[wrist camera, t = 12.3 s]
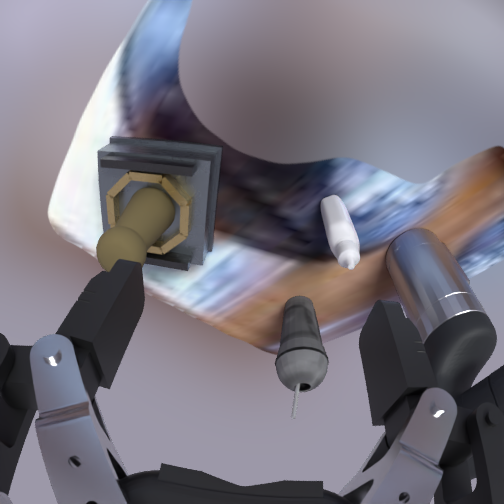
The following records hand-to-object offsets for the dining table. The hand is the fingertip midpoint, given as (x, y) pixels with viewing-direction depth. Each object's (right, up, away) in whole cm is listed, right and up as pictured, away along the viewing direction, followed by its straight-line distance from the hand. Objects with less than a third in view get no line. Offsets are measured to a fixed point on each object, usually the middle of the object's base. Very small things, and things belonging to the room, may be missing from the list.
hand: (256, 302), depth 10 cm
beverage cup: (+7, -7, +40) cm, 42 cm away
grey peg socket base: (-12, +10, +31) cm, 35 cm away
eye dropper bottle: (+11, +7, +31) cm, 33 cm away
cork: (-12, +7, +27) cm, 30 cm away
